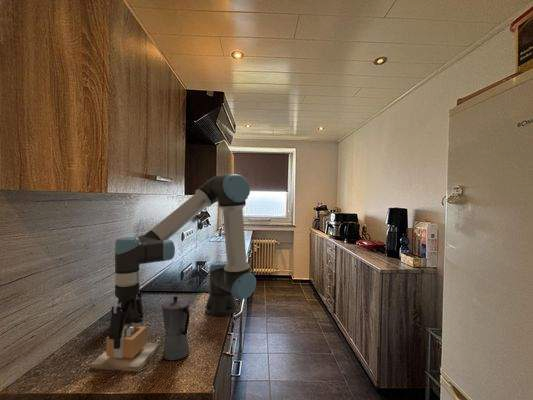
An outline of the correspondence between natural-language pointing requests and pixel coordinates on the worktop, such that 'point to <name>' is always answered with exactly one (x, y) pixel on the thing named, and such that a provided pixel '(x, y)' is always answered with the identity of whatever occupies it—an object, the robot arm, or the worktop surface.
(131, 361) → the post stand
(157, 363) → the worktop surface
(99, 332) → the worktop surface
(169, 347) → the moka pot
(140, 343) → the open wooden box
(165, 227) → the robot arm
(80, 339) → the worktop surface
